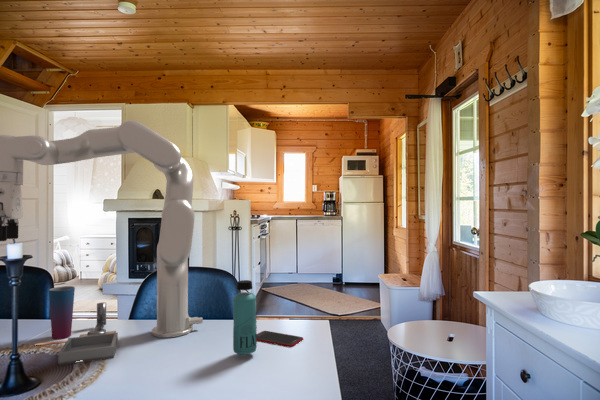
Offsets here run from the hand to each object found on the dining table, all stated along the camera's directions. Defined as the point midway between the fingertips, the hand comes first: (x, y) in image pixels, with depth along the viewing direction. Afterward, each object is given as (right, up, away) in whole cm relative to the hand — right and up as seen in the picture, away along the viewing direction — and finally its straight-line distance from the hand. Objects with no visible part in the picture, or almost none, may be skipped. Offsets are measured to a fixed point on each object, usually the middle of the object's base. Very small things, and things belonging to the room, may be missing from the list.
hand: (5, 239), depth 107 cm
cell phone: (+76, -31, +7) cm, 83 cm away
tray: (+26, -31, -3) cm, 40 cm away
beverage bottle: (+68, -31, -5) cm, 75 cm away
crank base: (+16, -31, +7) cm, 36 cm away
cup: (+9, -32, +11) cm, 35 cm away
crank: (+19, -30, +14) cm, 39 cm away
